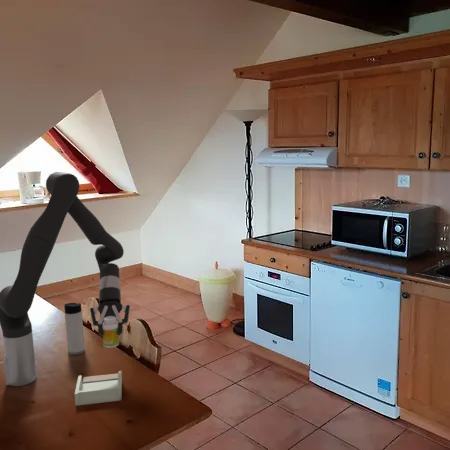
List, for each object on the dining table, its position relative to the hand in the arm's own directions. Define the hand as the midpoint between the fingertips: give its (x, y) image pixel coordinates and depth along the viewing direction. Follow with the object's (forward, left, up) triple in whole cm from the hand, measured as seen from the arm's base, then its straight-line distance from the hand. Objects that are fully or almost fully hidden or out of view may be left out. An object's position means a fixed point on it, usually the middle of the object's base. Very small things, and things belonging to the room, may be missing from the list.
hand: (110, 335), depth 164 cm
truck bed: (-4, -7, -16) cm, 18 cm away
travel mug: (-15, +25, -16) cm, 33 cm away
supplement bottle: (0, +2, -4) cm, 5 cm away
